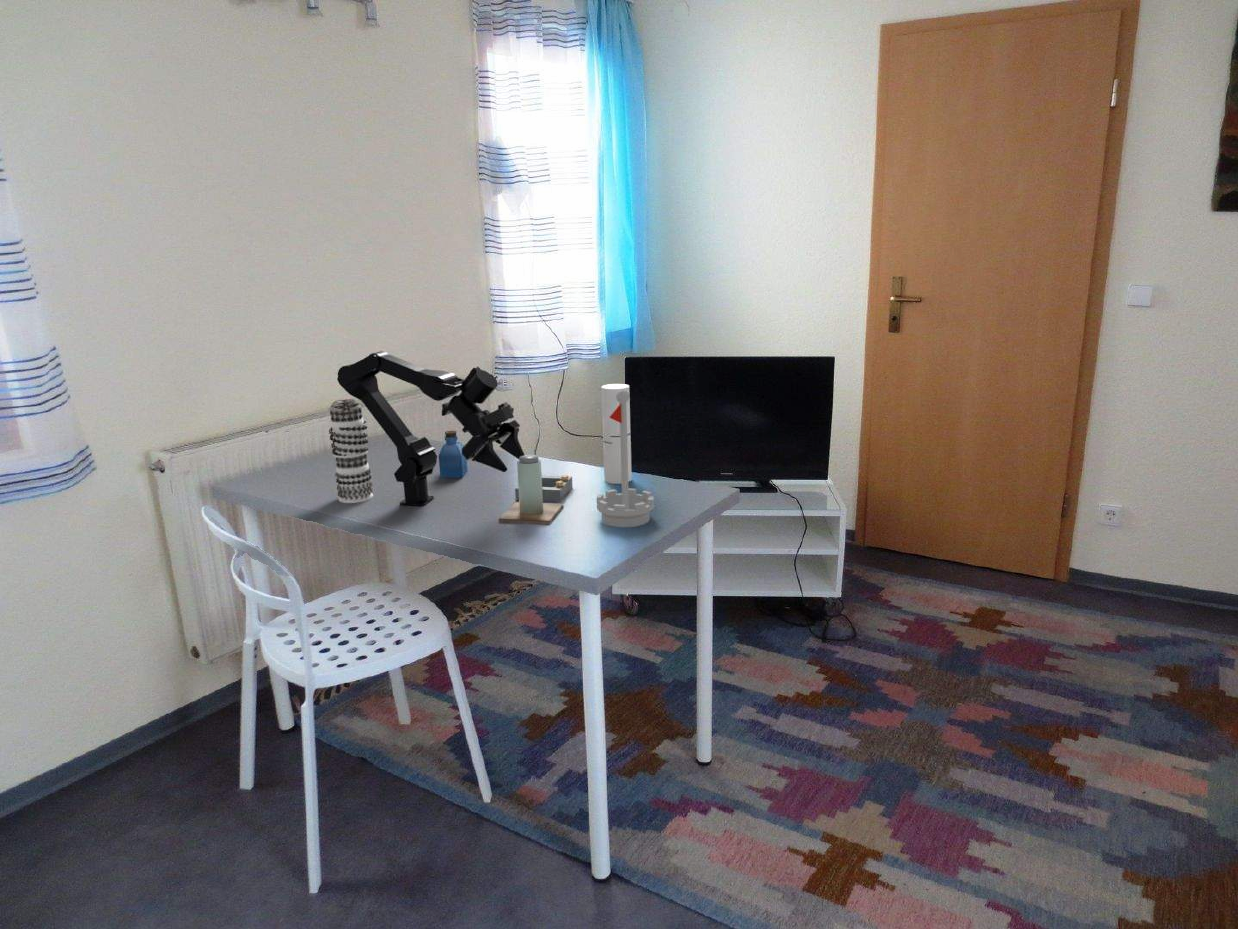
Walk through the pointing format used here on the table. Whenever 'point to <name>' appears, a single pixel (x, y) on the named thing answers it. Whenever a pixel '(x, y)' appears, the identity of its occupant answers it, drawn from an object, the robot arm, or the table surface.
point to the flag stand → (624, 484)
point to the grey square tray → (553, 488)
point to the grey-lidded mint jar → (530, 484)
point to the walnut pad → (543, 517)
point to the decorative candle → (350, 451)
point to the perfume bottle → (452, 457)
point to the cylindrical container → (614, 434)
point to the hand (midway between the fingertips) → (515, 465)
